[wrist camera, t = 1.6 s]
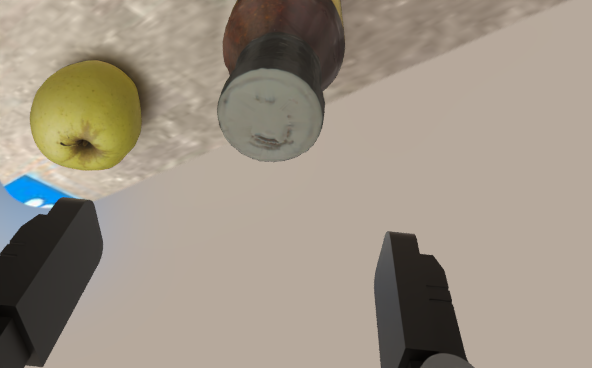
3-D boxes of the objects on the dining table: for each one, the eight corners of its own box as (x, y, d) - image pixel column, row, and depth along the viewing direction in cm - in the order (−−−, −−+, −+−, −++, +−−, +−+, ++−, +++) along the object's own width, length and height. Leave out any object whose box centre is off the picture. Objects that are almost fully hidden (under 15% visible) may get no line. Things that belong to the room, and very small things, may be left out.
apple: (23, 67, 38) (-15, 120, 29) (119, 36, 38) (107, 79, 30) (75, 149, 42) (53, 214, 34) (159, 120, 42) (159, 177, 34)
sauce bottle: (298, 49, 36) (270, 220, 20) (234, -9, 34) (146, 134, 18) (360, -17, 33) (384, 125, 17) (294, -86, 31) (251, 7, 15)
